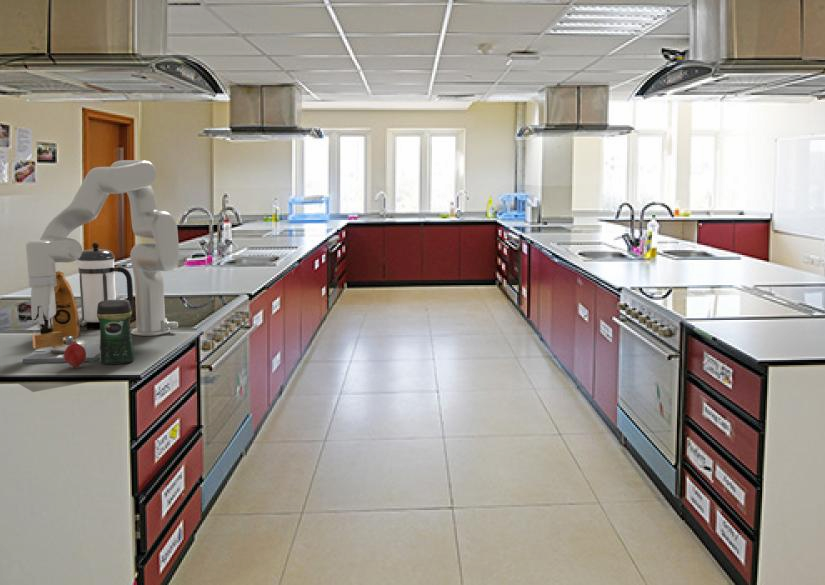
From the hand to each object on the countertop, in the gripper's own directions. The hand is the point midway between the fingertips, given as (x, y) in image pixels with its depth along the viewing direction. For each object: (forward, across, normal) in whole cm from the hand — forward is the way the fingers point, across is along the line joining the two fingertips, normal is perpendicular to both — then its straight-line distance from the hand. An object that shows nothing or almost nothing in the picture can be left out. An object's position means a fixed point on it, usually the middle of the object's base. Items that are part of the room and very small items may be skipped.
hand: (47, 340), depth 241 cm
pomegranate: (+5, +17, +12) cm, 21 cm away
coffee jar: (+5, +12, +22) cm, 26 cm away
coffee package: (+5, -29, -2) cm, 29 cm away
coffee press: (+6, -51, +6) cm, 52 cm away
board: (+5, 0, +6) cm, 7 cm away
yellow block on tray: (+3, +1, +4) cm, 5 cm away
